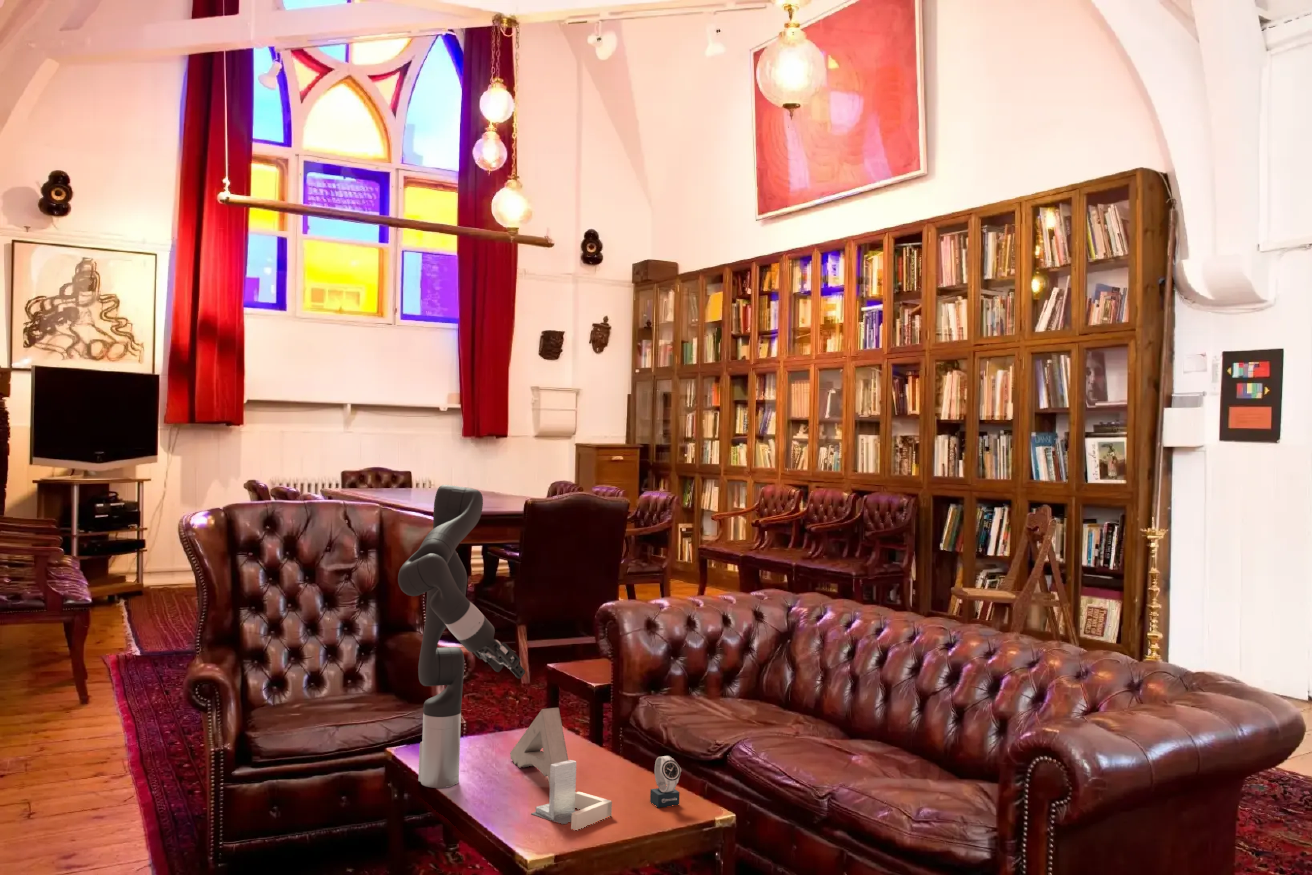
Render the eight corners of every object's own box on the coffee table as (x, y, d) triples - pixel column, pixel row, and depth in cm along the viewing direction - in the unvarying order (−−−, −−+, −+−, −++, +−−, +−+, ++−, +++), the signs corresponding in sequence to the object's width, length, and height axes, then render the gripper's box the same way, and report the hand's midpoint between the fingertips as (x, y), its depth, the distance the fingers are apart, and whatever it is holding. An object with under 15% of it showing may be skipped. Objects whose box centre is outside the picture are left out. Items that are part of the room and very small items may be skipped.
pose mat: (531, 814, 228) (531, 813, 228) (555, 805, 235) (555, 804, 235) (564, 824, 222) (564, 823, 222) (587, 815, 229) (587, 814, 229)
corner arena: (542, 819, 225) (543, 804, 225) (578, 806, 234) (578, 791, 234) (576, 830, 219) (576, 814, 219) (611, 816, 228) (611, 800, 228)
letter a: (539, 835, 260) (575, 796, 238) (522, 837, 258) (557, 798, 236) (525, 751, 272) (558, 707, 250) (510, 752, 270) (542, 708, 248)
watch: (661, 810, 233) (663, 763, 233) (647, 800, 240) (648, 753, 241) (683, 807, 235) (684, 760, 236) (667, 797, 243) (669, 751, 243)
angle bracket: (535, 812, 229) (537, 759, 229) (556, 806, 233) (558, 754, 234) (553, 820, 224) (555, 766, 224) (574, 814, 228) (576, 761, 229)
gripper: (498, 616, 215) (539, 664, 223) (462, 608, 226) (503, 654, 233) (476, 643, 212) (519, 691, 219) (440, 634, 222) (483, 679, 229)
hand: (511, 672), depth 226 cm, fingers open, 8 cm apart
